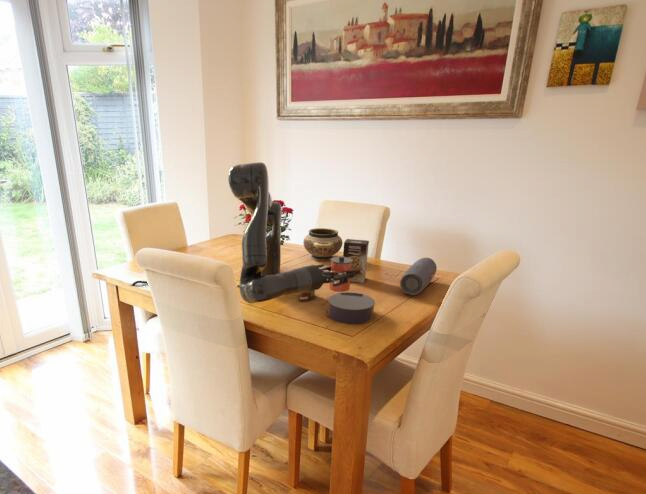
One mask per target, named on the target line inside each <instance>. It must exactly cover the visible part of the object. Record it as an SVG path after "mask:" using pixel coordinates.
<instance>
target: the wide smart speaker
mask: <svg viewBox="0 0 646 494" xmlns="http://www.w3.org/2000/svg"><path fill="white" fill-rule="evenodd" d="M327 302H328V305H327V315H328V316H329V318H331V320H334V321H336V322H340V323H345V324H364V323H367V322H370V321H371V320H372V319H373V318H374V311H375V310H374V309H375V304H376V301H375V299H374V298H373V297H371V296H369V295H367V294H363V293H360V292H359V293H358V292H338V293H334V294H331V295H330V296H329V297H328V298H327Z"/></svg>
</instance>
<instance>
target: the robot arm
mask: <svg viewBox="0 0 646 494" xmlns="http://www.w3.org/2000/svg"><path fill="white" fill-rule="evenodd" d="M227 176H228V178H227V180H228V186H229V188H230V192H231V194H232V195H233V197H235V198H236V199H237V200H238V201H239V202H241V203H242V204H243V206H244V208H245V209H246V211H247V212H248V213H249V215H250V217H251V218H250V220H249V222H248V224H247V226H246V227H245V229H244V231H243V234H242V237H241V258H242V259H241V261H242V267H241V271H240V276H239V277H240V278H239V284H238V285H237V286H238V287H237V288H238V289H239V293H240V296H241V298H242V300H243V301H244V302H245V303H247V304H257V303H258V304H259V303H263V302H267V301H271V300H275V299H277V298H282V297H283V298H284V297H288V296H292V295H298V294H299V295H300V294H301V293H305V292H309V291H314V290H315V291H318V290H320V289H321V288H322V287H323V286H324V285H325V284H330V283H333V286H339V285H342V284H345V283H348V279H349V278H353V277H354V276H355V271H354V270H351V271H346V272H338V271H331V265H327V264H326V265H325V264H324V263H322V264H315V265H314V264H311V265H307V266H302V267H297V268H293V269H290V270H287V271H281V245H282V244H281V242H282V241H281V238H282V237H281V236H282V235H281V231H282V230H281V228H282V214H283V213H282V212H283V211H282V205H281V203H280V202H277V201H273V199H272V195H271V193H270V184H269V183H270V181H269V171H268V168H267V166H266V164H265V163H264V162H260V161H259V162H248V163H242V164H241V163H240V164H236V165H234V166H232V167H231V168H230V170H229V172H228V175H227ZM267 228H271V229H272V230H270V231H268V232H267ZM334 274H335V277H334ZM339 275H340V276H339ZM137 284H147V285H149V284H148V283H147V280H145V281H144V280H136V281H133V283H132V284H131V286H135V285H137ZM135 359H139V356H138V355H135Z"/></svg>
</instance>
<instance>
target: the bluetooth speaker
mask: <svg viewBox="0 0 646 494" xmlns="http://www.w3.org/2000/svg"><path fill="white" fill-rule="evenodd" d="M437 267H438V266H437V263H436V262H435V261H434V259H432V258H430V257H422V258H420V259H417V260H416V261H415V262H413V264H412V265H410V266H409V268H408V269H407V270H406V271H405V272H404V274H403V275H402V276H401V279H400V282H399V285H400V286H399V287H400V289H401V290H402V292H403V293H404V294H407V295H410V296H416V295H418V294H420V293H421V292H423V290H425V289H426V288H427V286H428V285H429V284H430V283H431V281H432V280H433V278H434V277H435V275H436V272H437Z"/></svg>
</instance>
